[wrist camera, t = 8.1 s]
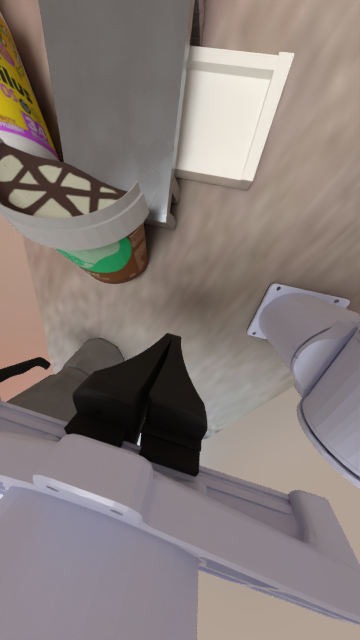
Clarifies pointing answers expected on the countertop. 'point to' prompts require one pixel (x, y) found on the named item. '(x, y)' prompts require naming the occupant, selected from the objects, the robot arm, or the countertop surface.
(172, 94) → the shelf
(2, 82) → the supplement bottle
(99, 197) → the food container
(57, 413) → the coffeepot
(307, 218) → the countertop surface
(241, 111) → the tray
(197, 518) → the robot arm
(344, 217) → the countertop surface
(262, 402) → the countertop surface
